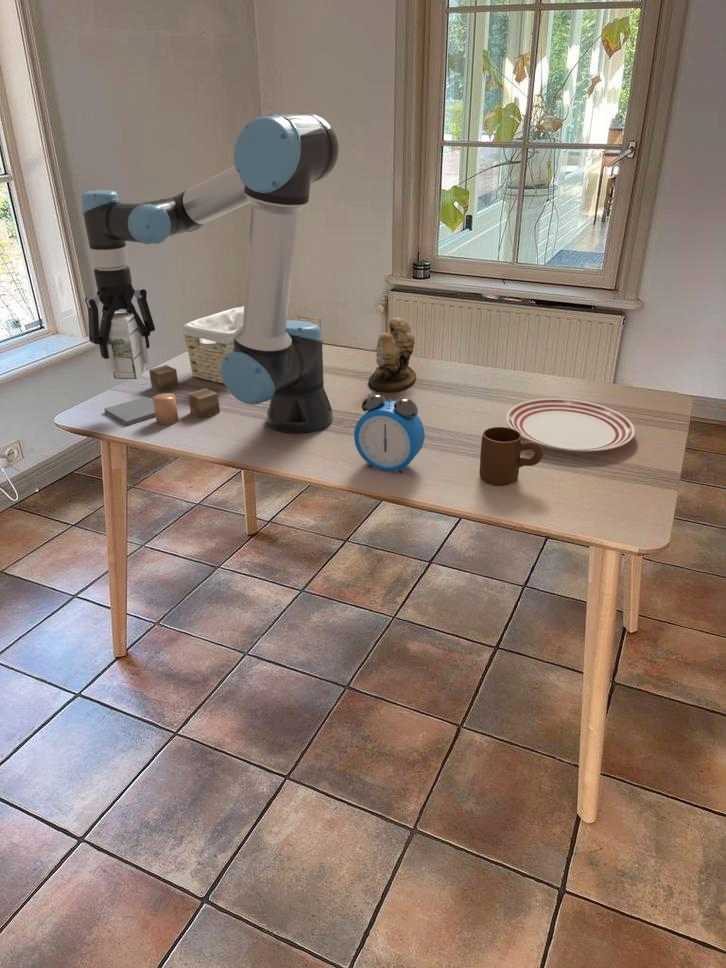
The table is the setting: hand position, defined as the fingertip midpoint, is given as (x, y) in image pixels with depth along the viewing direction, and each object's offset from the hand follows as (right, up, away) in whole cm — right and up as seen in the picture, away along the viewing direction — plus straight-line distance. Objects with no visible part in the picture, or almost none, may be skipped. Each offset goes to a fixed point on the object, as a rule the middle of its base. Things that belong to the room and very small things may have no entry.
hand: (128, 366), depth 169 cm
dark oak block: (+3, -2, +20) cm, 20 cm away
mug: (+83, -27, -28) cm, 92 cm away
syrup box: (0, -2, +1) cm, 2 cm away
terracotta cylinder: (+9, -13, +1) cm, 16 cm away
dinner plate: (+100, -17, -9) cm, 102 cm away
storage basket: (+20, +4, +31) cm, 37 cm away
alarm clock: (+60, -24, -21) cm, 68 cm away
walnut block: (+17, -10, +5) cm, 20 cm away
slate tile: (0, -10, +5) cm, 11 cm away
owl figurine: (+63, 0, +22) cm, 66 cm away
